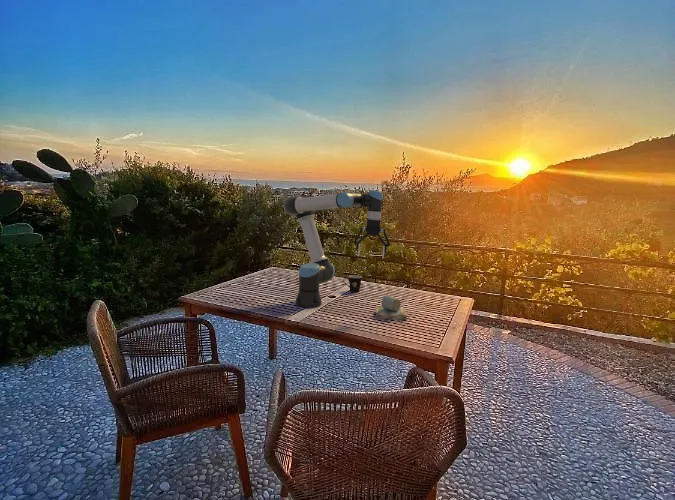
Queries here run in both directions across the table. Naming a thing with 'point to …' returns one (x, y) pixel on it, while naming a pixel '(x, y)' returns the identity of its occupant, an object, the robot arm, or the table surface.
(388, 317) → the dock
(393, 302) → the ceramic mug
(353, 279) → the coffee mug
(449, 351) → the table surface
